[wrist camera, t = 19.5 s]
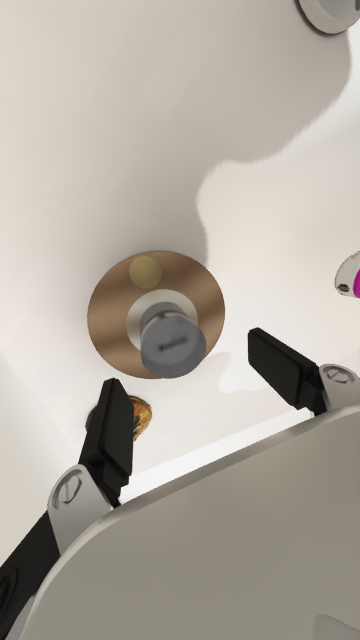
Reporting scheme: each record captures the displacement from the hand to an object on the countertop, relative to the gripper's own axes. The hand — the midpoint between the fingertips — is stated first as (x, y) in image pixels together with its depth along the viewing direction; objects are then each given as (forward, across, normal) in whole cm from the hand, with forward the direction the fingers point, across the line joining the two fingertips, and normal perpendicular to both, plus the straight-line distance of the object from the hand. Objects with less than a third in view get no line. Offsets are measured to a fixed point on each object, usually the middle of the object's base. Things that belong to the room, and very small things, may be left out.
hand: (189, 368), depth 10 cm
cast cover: (+9, +1, +1) cm, 9 cm away
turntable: (+11, +1, +1) cm, 11 cm away
